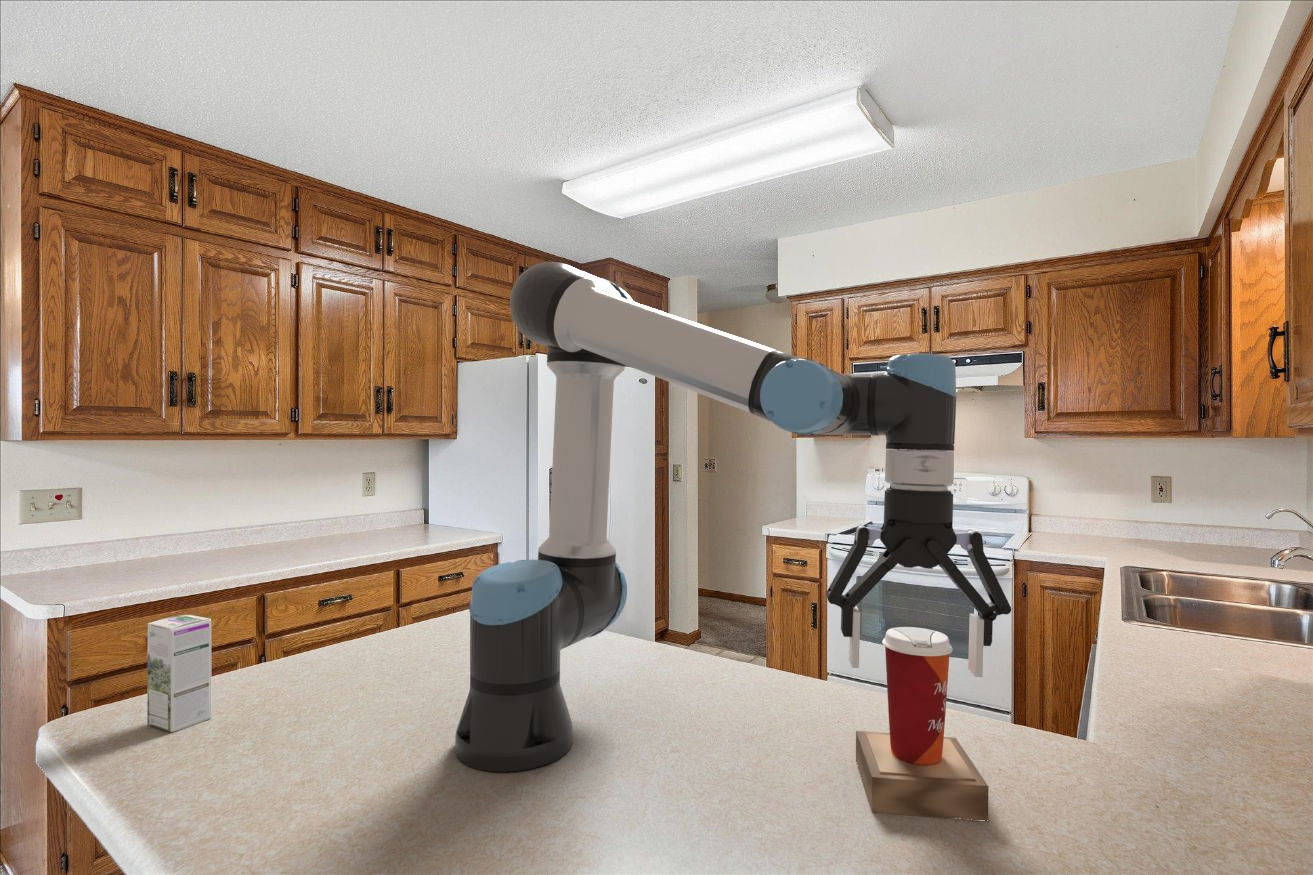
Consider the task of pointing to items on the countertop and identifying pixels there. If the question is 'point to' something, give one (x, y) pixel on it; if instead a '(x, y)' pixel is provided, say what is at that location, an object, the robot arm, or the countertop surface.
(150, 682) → the syrup box
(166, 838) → the countertop surface
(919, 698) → the paper cup
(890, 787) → the plinth
